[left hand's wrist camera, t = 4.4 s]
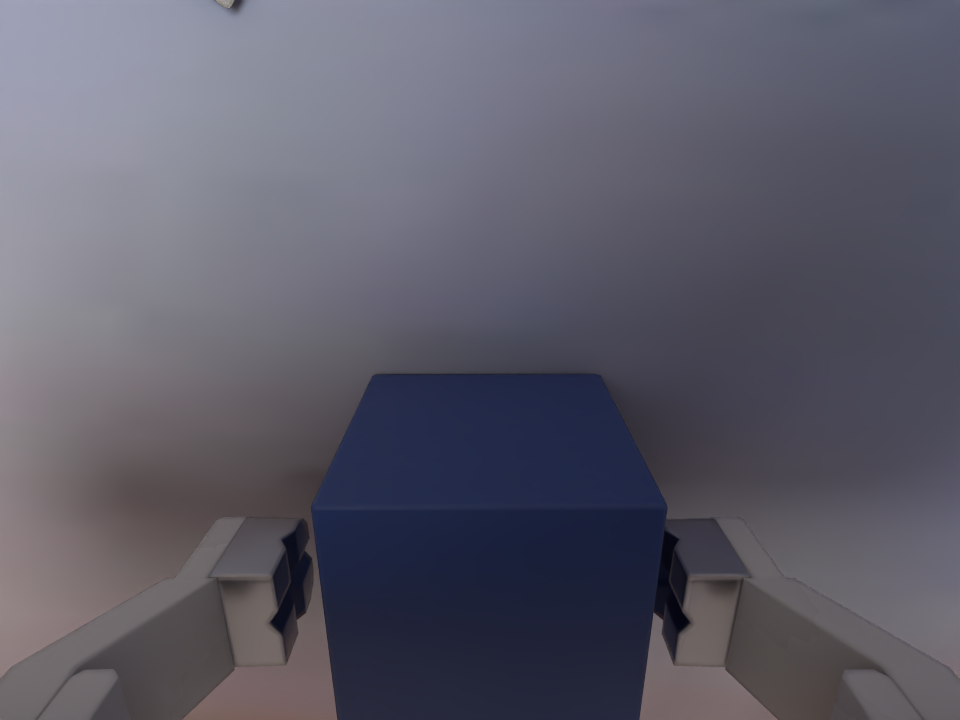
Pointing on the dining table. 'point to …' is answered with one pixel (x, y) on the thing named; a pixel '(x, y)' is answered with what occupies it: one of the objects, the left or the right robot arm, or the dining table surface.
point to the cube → (488, 552)
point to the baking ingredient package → (225, 3)
